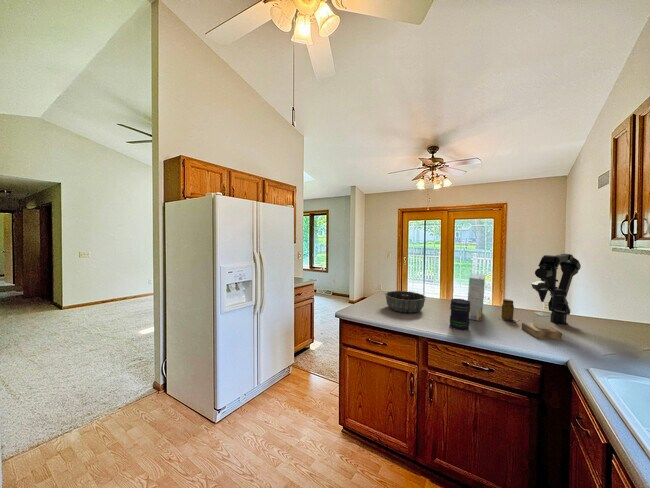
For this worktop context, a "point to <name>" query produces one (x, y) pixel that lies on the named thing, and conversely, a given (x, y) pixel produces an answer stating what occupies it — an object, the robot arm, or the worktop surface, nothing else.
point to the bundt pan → (405, 301)
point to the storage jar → (460, 314)
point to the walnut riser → (541, 332)
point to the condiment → (507, 310)
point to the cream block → (541, 320)
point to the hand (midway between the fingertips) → (547, 303)
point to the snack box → (476, 296)
